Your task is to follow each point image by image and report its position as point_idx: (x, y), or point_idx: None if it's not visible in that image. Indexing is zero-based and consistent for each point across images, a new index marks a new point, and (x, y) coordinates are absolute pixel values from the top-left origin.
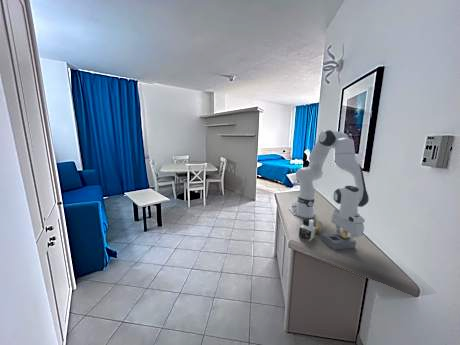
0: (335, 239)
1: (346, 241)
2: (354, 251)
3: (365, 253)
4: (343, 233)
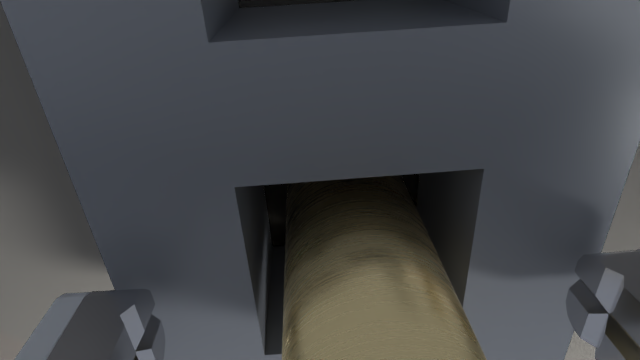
0: (410, 12)
1: (113, 189)
2: (56, 200)
3: (26, 321)
4: (352, 344)
